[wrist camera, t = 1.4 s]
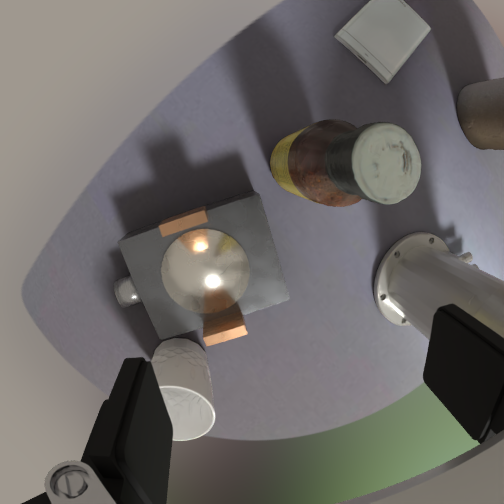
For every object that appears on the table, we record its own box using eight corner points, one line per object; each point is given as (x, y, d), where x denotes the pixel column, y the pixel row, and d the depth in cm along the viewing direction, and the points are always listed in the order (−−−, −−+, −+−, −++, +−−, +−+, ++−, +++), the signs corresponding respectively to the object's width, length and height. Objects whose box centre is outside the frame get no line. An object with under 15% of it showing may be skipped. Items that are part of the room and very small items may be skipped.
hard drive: (387, -16, 27) (337, 33, 28) (432, 29, 29) (390, 82, 30) (381, -11, 28) (331, 38, 30) (425, 32, 30) (383, 85, 32)
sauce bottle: (333, 150, 33) (460, 145, 14) (310, 202, 34) (420, 250, 15) (278, 123, 31) (365, 76, 12) (254, 177, 33) (315, 197, 14)
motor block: (252, 185, 33) (262, 191, 26) (282, 289, 36) (298, 316, 30) (104, 237, 32) (81, 254, 26) (145, 332, 36) (134, 365, 29)
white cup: (136, 351, 36) (118, 405, 27) (186, 321, 36) (180, 372, 26) (175, 393, 39) (170, 449, 29) (225, 367, 38) (231, 423, 29)
